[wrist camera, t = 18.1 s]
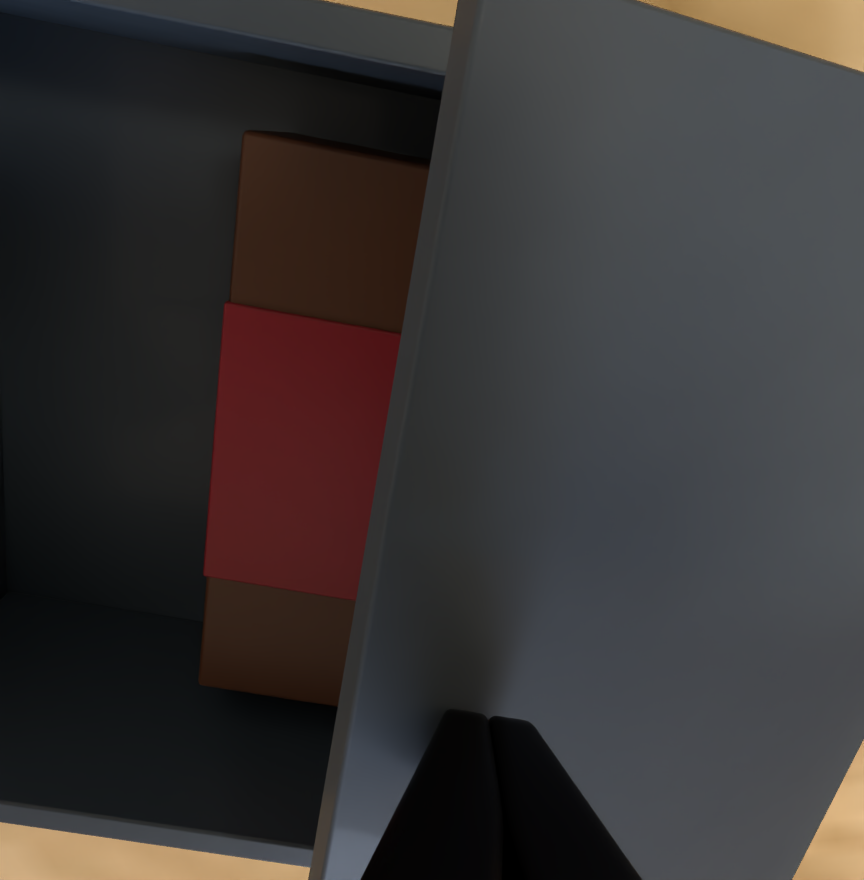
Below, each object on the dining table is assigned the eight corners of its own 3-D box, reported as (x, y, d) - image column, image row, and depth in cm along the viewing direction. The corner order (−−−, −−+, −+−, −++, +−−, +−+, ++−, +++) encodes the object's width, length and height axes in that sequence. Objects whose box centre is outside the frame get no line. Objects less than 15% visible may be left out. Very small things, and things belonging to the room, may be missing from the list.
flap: (462, -41, 5) (489, -49, 5) (1115, 161, 8) (1159, 165, 8) (267, 1111, 10) (273, 1149, 9) (727, 952, 13) (744, 976, 12)
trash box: (-26, -23, 13) (-369, -143, 8) (839, 151, 14) (1097, 157, 8) (-1, 592, 18) (-201, 794, 12) (643, 696, 19) (725, 930, 13)
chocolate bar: (515, 175, 14) (534, 185, 11) (421, 621, 18) (415, 722, 14) (284, 130, 14) (236, 128, 11) (238, 591, 17) (193, 688, 14)
